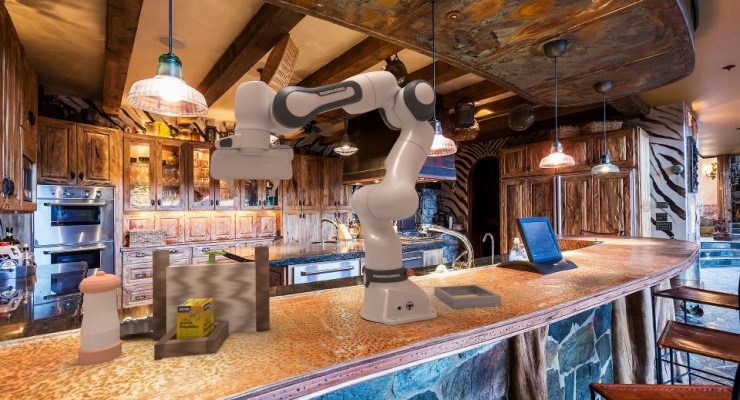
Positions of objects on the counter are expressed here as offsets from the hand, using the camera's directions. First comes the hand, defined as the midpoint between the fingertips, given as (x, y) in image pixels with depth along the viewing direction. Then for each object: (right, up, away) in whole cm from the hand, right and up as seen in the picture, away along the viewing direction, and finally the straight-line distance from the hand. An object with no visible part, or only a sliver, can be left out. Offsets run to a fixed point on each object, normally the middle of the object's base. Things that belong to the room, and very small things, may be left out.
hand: (253, 196), depth 88 cm
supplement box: (-9, -35, -11) cm, 38 cm away
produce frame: (+63, -35, +26) cm, 76 cm away
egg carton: (-29, -36, -1) cm, 46 cm away
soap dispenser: (-14, -36, +8) cm, 39 cm away
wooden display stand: (-8, -35, -8) cm, 37 cm away
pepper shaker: (-27, -36, -16) cm, 47 cm away
